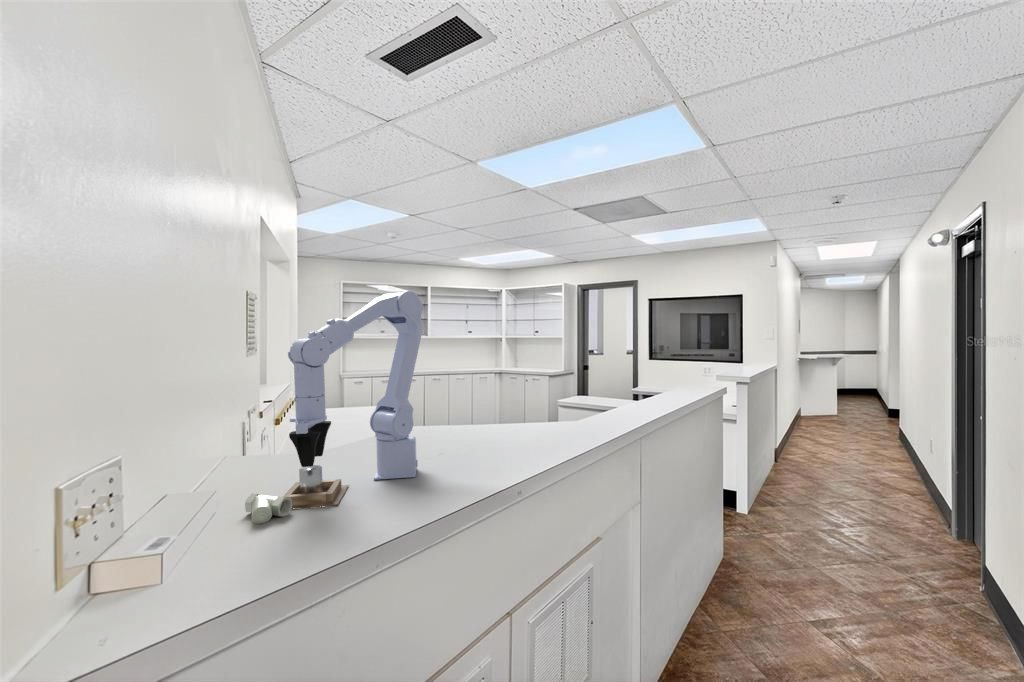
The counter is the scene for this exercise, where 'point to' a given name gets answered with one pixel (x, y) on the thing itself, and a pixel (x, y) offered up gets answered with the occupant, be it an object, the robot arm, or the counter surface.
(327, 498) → the cradle board
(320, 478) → the silver metal cylinder
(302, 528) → the counter surface
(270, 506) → the pipe fitting
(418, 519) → the counter surface
